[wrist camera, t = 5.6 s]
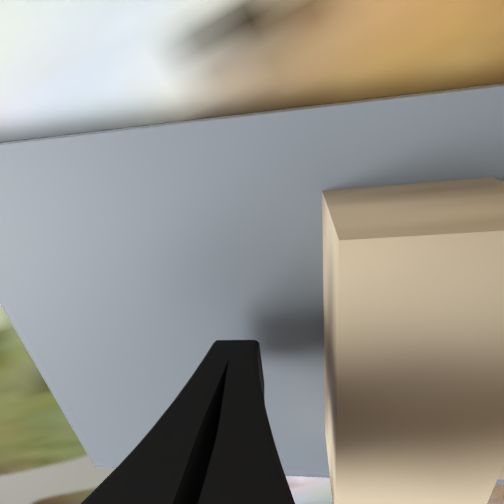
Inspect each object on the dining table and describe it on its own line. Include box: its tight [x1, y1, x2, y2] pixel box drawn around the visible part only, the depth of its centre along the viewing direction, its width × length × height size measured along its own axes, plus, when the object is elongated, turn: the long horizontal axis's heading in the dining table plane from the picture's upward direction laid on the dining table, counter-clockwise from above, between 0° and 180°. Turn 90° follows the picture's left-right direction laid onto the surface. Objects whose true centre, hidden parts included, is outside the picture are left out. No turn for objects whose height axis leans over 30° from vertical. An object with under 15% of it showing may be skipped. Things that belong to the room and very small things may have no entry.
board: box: [0, 83, 504, 485], centre depth 10 cm, size 15×26×3 cm, turn 97°
